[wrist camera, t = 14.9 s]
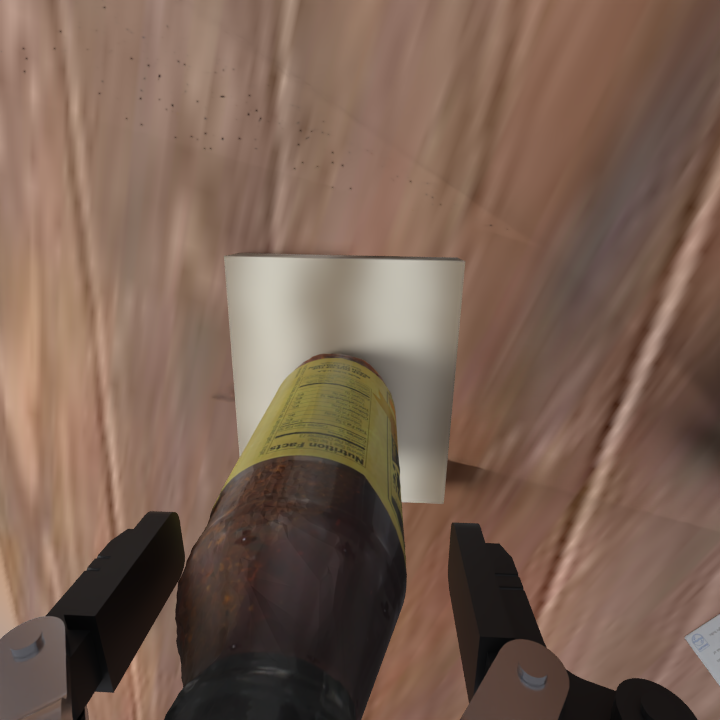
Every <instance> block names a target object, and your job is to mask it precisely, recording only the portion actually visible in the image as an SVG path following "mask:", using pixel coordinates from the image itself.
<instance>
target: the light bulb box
mask: <svg viewBox="0 0 720 720" xmlns="http://www.w3.org/2000/svg"><path fill="white" fill-rule="evenodd" d="M685 639H686V641H687V642H688V643H689V645H690V646H691V647H692V649H693V650H694V652H695V653H696V654H697V656H698V657H699V658H700V660H701V661H702V662H703V664H704V665H705V667H706V668H707V669H708V671H709V672H710V674H711V675H712V676H713V678H714V679H715V680H716V682H717V683H718V685H719V686H720V614H719V615H717V616H716V617H714V618H713V619H711V620H710V621H708V622H707V623H705V624H704V625H702V626H700V627H699V628H697V629H696V630H694V631H693V632H691V633H690V634H688V635H687V636H685Z"/></svg>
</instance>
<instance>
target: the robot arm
mask: <svg viewBox="0 0 720 720" xmlns="http://www.w3.org/2000/svg"><path fill="white" fill-rule="evenodd" d="M184 562H185V553H184V546H183V540H182V533H181V527H180V520H179V516H178V514H177V513H176V512H155V511H150V512H148V513H147V514H146V515H145V516H144V517H143V518H142V520H141V521H140V522H139V523H138V524H137V526H136V527H135V528H134V529H127V530H126V531H124V532H123V533H121V534H120V535H119V536H117V537H116V538H114V539H113V540H111V541H110V542H109V543H108V544H107V546H106V547H105V548H104V549H103V550H102V551H101V552H100V554H99V555H98V557H97V559H94V561H93V562H92V563H91V564H90V565H89V566H88V568H87V571H84V572H83V573H82V574H81V576H80V577H79V578H78V579H77V580H76V581H75V583H74V584H73V585H72V586H71V587H70V588H69V590H68V591H67V592H66V593H65V594H64V595H63V596H62V598H61V599H60V600H59V601H58V602H57V603H56V605H55V606H54V607H53V608H52V609H51V610H50V612H49V613H48V614H47V615H46V616H45V617H39V618H35V619H32V620H29V621H27V622H25V623H22V624H21V625H19V626H17V627H15V628H14V629H12V630H11V631H9V632H8V633H7V634H6V635H4V636H3V637H2V638H1V639H0V720H89V716H88V709H87V703H88V702H89V700H90V698H91V697H92V695H93V694H94V692H112V693H114V691H115V689H116V688H117V686H118V684H119V682H120V681H121V679H122V677H123V675H124V674H125V672H126V670H127V669H128V667H129V665H130V663H131V662H132V660H133V658H134V656H135V655H136V653H137V651H138V650H139V648H140V646H141V644H142V643H143V641H144V639H145V637H146V636H147V634H148V632H149V631H150V629H151V627H152V625H153V624H154V622H155V620H156V618H157V617H158V615H159V613H160V612H161V610H162V608H163V606H164V605H165V603H166V601H167V599H168V598H169V596H170V594H171V592H172V591H173V589H174V587H175V586H176V584H177V582H178V580H179V579H180V577H181V574H182V571H183V568H184ZM448 582H449V591H450V597H451V602H452V608H453V614H454V619H455V625H456V631H457V637H458V642H459V648H460V654H461V659H462V665H463V671H464V677H465V682H466V688H467V694H468V699H469V705H468V707H467V708H466V710H465V712H464V714H463V715H462V717H461V719H460V720H697V718H696V717H695V715H694V714H693V712H692V711H691V710H690V709H689V707H688V706H687V705H686V704H685V703H684V702H683V701H682V700H681V699H680V698H678V697H677V696H676V695H675V694H674V693H672V692H671V691H669V690H668V689H666V688H664V687H663V686H661V685H659V684H657V683H654V682H652V681H649V680H645V679H640V678H632V679H627V680H625V681H623V682H622V683H620V684H619V686H618V687H617V690H616V691H614V690H611V689H609V688H606V687H603V686H600V685H597V684H595V683H592V682H589V681H586V680H584V679H581V678H579V677H577V676H575V675H574V674H572V673H571V672H569V671H568V670H566V669H565V667H564V665H563V664H562V662H561V661H560V660H559V658H558V657H557V656H556V655H555V654H554V653H553V652H551V651H550V650H549V649H547V648H546V645H545V643H544V641H543V638H542V636H541V633H540V630H539V628H538V625H537V622H536V620H535V617H534V614H533V612H532V609H531V607H530V604H529V601H528V599H527V596H526V593H525V591H524V590H523V585H522V583H521V580H520V578H519V577H518V572H517V570H516V567H515V564H514V562H513V559H512V557H511V556H510V555H509V554H508V553H507V552H506V551H505V550H504V548H503V547H502V546H501V545H500V544H494V543H485V541H484V537H483V534H482V531H481V528H480V525H479V524H475V523H452V525H451V535H450V548H449V562H448Z"/></svg>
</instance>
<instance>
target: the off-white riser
mask: <svg viewBox="0 0 720 720" xmlns="http://www.w3.org/2000/svg"><path fill="white" fill-rule="evenodd" d="M224 261H225V274H226V287H227V300H228V313H229V326H230V339H231V351H232V364H233V377H234V390H235V403H236V416H237V429H238V442H239V455H240V456H241V455H242V453H243V451H244V449H245V447H246V446H247V444H248V442H249V440H250V438H251V437H252V435H253V433H254V431H255V430H256V428H257V426H258V424H259V422H260V421H261V419H262V417H263V415H264V414H265V412H266V410H267V408H268V407H269V405H270V403H271V401H272V400H273V398H274V396H275V395H276V393H277V391H278V389H279V387H280V385H281V384H282V382H283V381H284V380H285V379H286V377H287V376H288V375H289V374H291V373H292V372H293V371H294V370H295V369H296V368H297V367H298V366H299V365H301V364H302V363H303V362H305V361H307V360H309V359H310V358H311V357H313V356H316V355H319V354H332V353H333V354H344V355H349V356H352V357H356V358H359V359H362V360H364V361H366V362H367V363H368V364H370V365H371V366H372V367H373V368H374V369H375V370H376V371H377V372H378V374H379V375H380V376H381V377H382V379H383V381H384V382H385V384H386V386H387V388H388V390H389V391H390V392H391V395H392V399H393V401H394V406H395V411H396V425H397V440H398V456H399V466H400V485H401V501H402V502H414V503H437V504H444V493H445V481H446V470H447V459H448V448H449V437H450V426H451V414H452V403H453V392H454V381H455V370H456V358H457V347H458V336H459V325H460V314H461V302H462V291H463V280H464V269H465V261H463V260H461V259H459V258H448V257H400V256H352V255H304V254H255V253H237V254H232V255H228V256H224Z"/></svg>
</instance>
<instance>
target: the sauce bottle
mask: <svg viewBox="0 0 720 720" xmlns="http://www.w3.org/2000/svg"><path fill="white" fill-rule="evenodd" d="M406 578H407V574H406V556H405V542H404V529H403V517H402V501H401V485H400V466H399V456H398V440H397V425H396V411H395V406H394V401H393V399H392V395H391V392H390V391H389V390H388V388H387V386H386V384H385V382H384V381H383V379H382V377H381V376H380V375H379V374H378V372H377V371H376V370H375V369H374V368H373V367H372V366H371V365H370V364H368V363H367V362H366V361H364V360H362V359H359V358H356V357H352V356H349V355H344V354H333V353H332V354H319V355H316V356H313V357H311V358H310V359H309V360H307V361H305V362H303V363H302V364H301V365H299V366H298V367H297V368H296V369H295V370H294V371H293V372H292V373H291V374H289V375H288V376H287V377H286V379H285V380H284V381H283V382H282V384H281V385H280V387H279V389H278V391H277V393H276V395H275V396H274V398H273V400H272V401H271V403H270V405H269V407H268V408H267V410H266V412H265V414H264V415H263V417H262V419H261V421H260V422H259V424H258V426H257V428H256V430H255V431H254V433H253V435H252V437H251V438H250V440H249V442H248V444H247V446H246V447H245V449H244V451H243V453H242V455H241V456H240V458H239V460H238V462H237V463H236V465H235V467H234V469H233V471H232V472H231V474H230V476H229V478H228V479H227V481H226V483H225V485H224V487H223V489H222V490H221V493H220V495H219V497H218V499H217V501H216V503H215V504H214V506H213V509H212V512H211V515H210V520H209V522H208V525H207V527H206V528H205V530H204V532H203V533H202V535H201V536H200V537H199V539H198V541H197V542H196V544H195V545H194V546H193V548H192V550H191V554H190V556H189V558H188V560H187V563H186V567H185V569H184V572H183V574H182V576H181V578H180V579H179V581H178V591H177V604H176V617H175V620H176V624H177V640H176V642H177V648H178V653H179V655H180V659H181V672H182V677H181V678H182V682H183V689H182V690H181V692H180V693H179V694H178V696H177V698H176V700H175V701H174V703H173V705H172V706H171V708H170V709H169V711H168V712H167V714H166V716H165V719H164V720H361V719H362V716H363V713H364V710H365V708H366V705H367V702H368V699H369V697H370V694H371V691H372V688H373V686H374V683H375V680H376V677H377V675H378V672H379V669H380V666H381V664H382V661H383V658H384V655H385V653H386V650H387V647H388V644H389V642H390V639H391V636H392V633H393V631H394V628H395V625H396V622H397V620H398V617H399V614H400V611H401V608H402V606H403V603H404V598H405V593H406Z"/></svg>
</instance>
